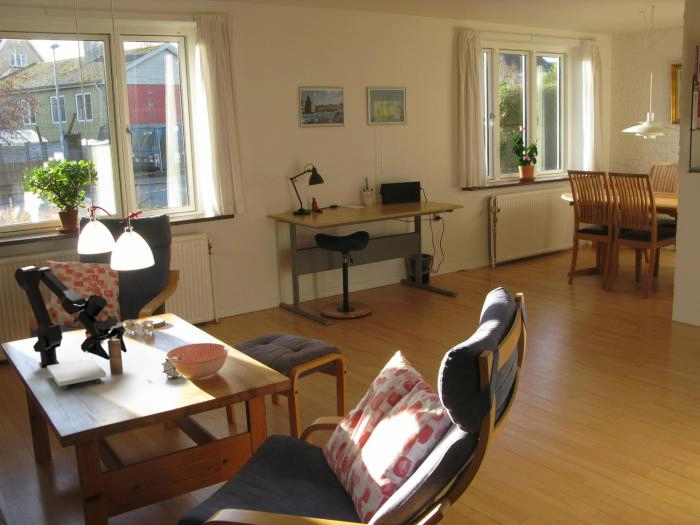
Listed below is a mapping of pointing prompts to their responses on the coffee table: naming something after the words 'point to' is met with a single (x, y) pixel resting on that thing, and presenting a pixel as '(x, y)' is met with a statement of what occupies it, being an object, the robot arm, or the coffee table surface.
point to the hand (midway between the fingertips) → (117, 355)
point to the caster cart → (76, 372)
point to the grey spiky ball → (171, 367)
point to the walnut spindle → (115, 356)
